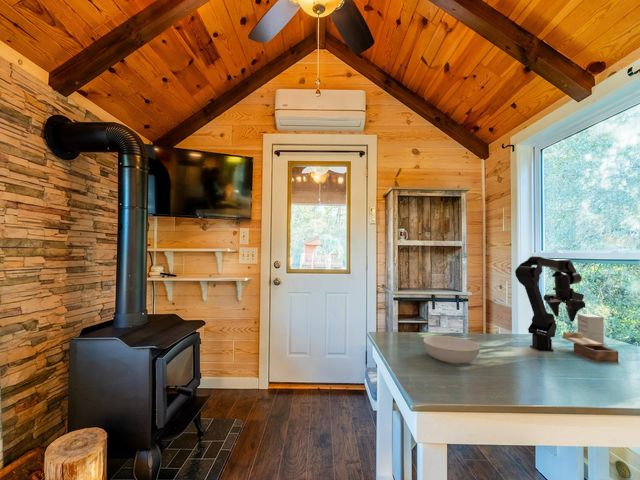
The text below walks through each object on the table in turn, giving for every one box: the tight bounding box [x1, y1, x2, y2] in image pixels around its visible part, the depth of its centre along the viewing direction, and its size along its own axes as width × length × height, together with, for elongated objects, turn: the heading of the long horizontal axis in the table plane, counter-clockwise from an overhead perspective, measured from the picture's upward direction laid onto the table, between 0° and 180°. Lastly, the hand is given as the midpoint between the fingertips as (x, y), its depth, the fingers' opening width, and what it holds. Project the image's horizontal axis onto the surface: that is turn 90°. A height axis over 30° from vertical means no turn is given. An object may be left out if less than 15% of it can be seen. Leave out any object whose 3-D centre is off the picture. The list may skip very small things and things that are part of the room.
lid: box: [561, 332, 605, 347], centre depth 140 cm, size 9×11×2 cm
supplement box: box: [576, 313, 605, 344], centre depth 158 cm, size 7×7×13 cm
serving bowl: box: [422, 335, 481, 364], centre depth 128 cm, size 21×21×7 cm
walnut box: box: [573, 342, 619, 363], centre depth 133 cm, size 9×11×4 cm
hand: (564, 319), depth 151 cm, fingers open, 9 cm apart
